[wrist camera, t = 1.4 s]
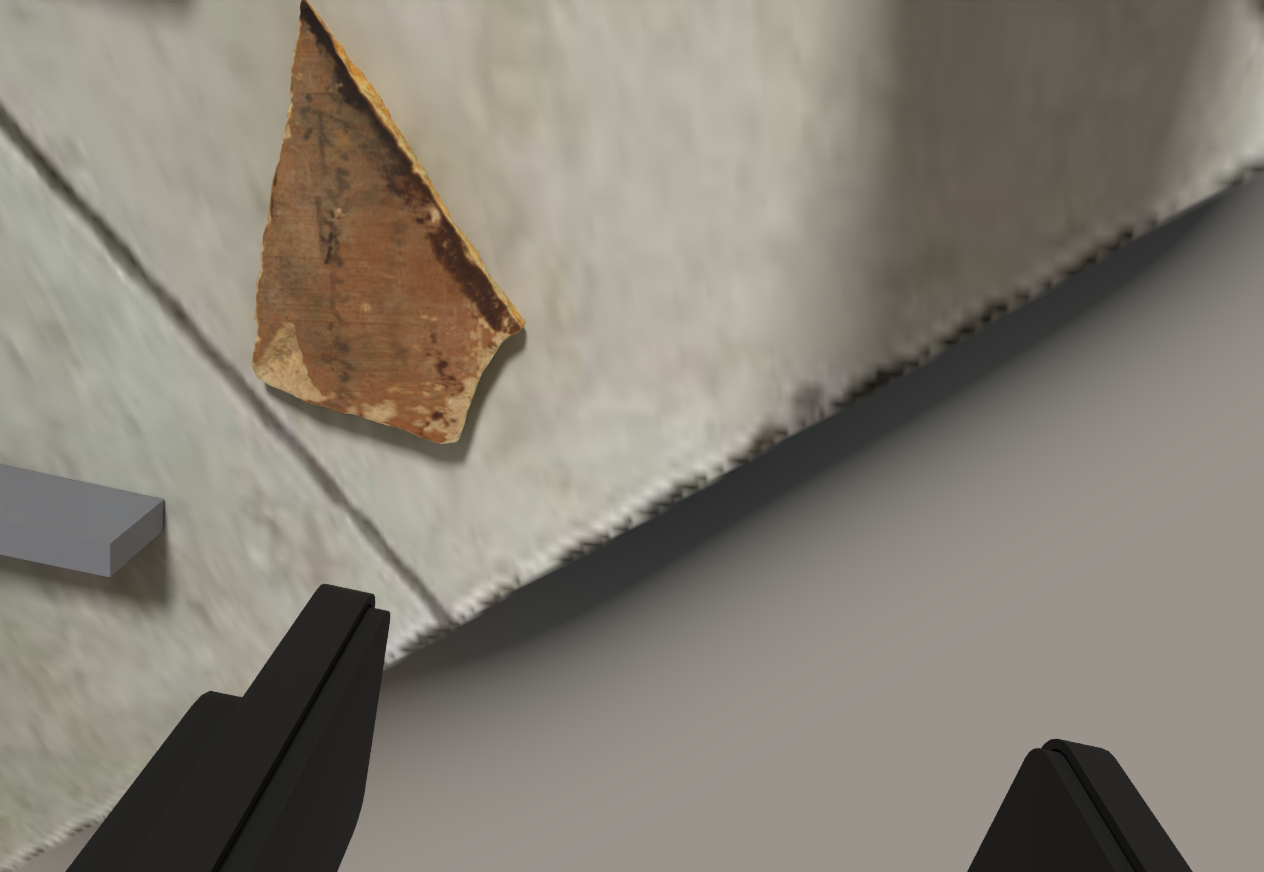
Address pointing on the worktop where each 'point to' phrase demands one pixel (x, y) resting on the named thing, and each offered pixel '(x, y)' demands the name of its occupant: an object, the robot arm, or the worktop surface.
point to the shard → (367, 263)
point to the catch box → (73, 522)
